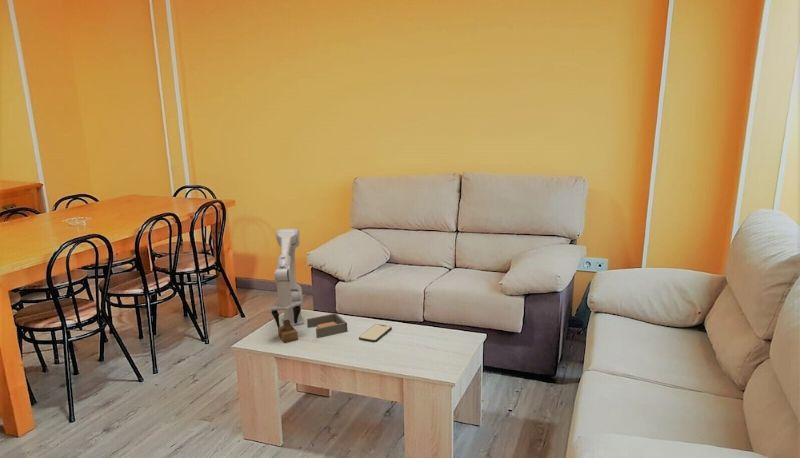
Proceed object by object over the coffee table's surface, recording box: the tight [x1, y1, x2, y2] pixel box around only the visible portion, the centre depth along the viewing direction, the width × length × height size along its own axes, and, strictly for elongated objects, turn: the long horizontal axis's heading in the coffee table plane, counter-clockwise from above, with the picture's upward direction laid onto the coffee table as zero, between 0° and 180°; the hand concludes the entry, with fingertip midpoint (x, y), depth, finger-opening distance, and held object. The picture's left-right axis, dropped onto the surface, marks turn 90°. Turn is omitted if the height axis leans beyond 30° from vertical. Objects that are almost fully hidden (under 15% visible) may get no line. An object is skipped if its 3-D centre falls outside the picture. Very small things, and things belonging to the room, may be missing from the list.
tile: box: [316, 322, 336, 328], centre depth 265 cm, size 8×8×2 cm
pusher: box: [277, 320, 299, 344], centre depth 257 cm, size 10×6×8 cm, turn 26°
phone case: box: [358, 323, 393, 343], centre depth 258 cm, size 9×2×16 cm
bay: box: [306, 312, 348, 339], centre depth 265 cm, size 14×14×4 cm
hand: (287, 324), depth 256 cm, fingers open, 7 cm apart
